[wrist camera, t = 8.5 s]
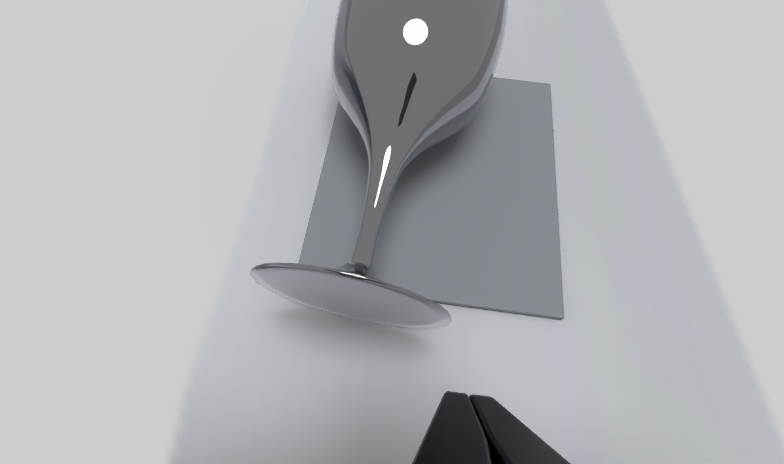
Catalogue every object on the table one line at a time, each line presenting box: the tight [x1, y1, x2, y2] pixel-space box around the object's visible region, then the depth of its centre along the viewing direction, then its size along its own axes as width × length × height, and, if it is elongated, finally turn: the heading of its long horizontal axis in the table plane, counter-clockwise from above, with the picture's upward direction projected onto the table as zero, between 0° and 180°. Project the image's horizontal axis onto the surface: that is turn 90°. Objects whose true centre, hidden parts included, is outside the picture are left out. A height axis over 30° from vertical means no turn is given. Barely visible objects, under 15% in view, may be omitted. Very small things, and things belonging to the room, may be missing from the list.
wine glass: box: [250, 0, 508, 328], centre depth 17 cm, size 8×8×15 cm
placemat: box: [298, 77, 564, 320], centre depth 21 cm, size 14×12×1 cm
